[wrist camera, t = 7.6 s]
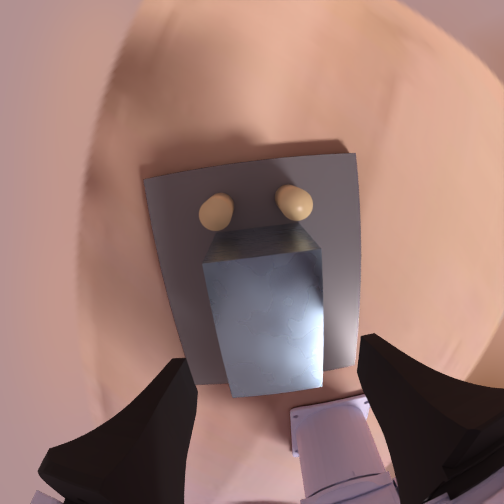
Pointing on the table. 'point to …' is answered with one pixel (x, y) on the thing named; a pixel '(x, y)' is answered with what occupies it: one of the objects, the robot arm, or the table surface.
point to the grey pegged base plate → (252, 216)
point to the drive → (267, 308)
